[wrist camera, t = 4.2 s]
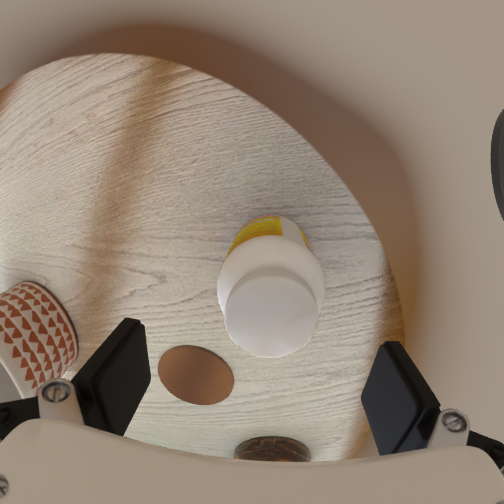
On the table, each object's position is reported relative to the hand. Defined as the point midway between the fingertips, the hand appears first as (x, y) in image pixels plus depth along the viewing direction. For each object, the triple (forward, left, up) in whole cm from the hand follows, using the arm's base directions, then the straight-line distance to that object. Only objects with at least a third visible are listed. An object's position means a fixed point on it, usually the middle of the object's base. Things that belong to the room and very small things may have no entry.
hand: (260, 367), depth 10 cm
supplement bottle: (0, 0, -17) cm, 17 cm away
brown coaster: (+7, +16, -16) cm, 24 cm away
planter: (+30, +14, -17) cm, 37 cm away
